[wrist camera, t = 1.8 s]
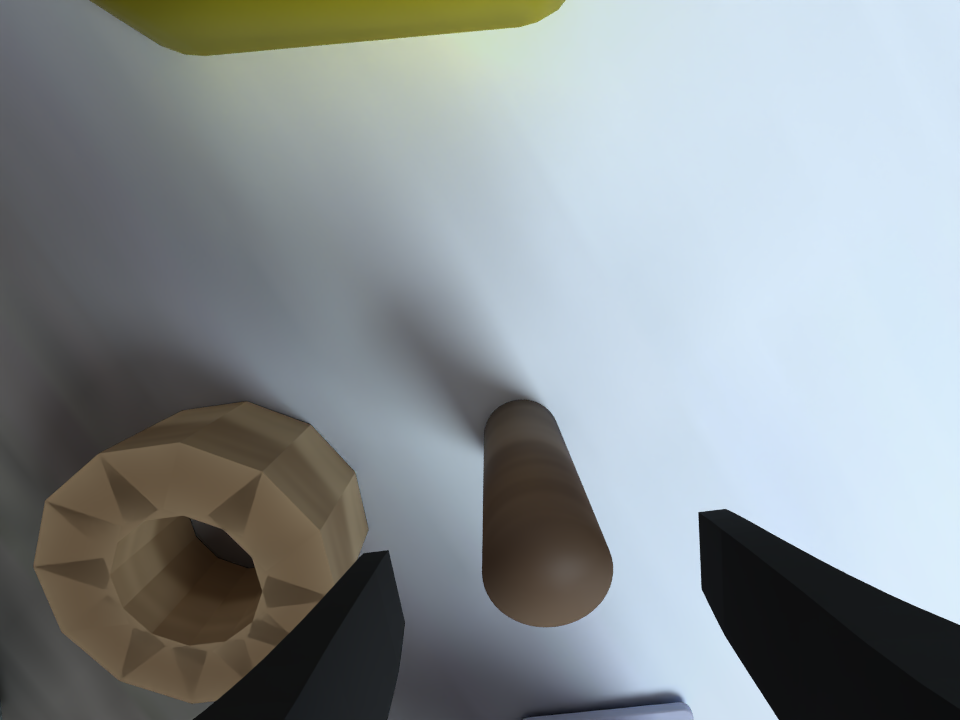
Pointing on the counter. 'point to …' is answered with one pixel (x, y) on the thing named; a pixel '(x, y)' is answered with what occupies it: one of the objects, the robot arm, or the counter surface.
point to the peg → (538, 522)
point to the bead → (198, 546)
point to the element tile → (312, 21)
